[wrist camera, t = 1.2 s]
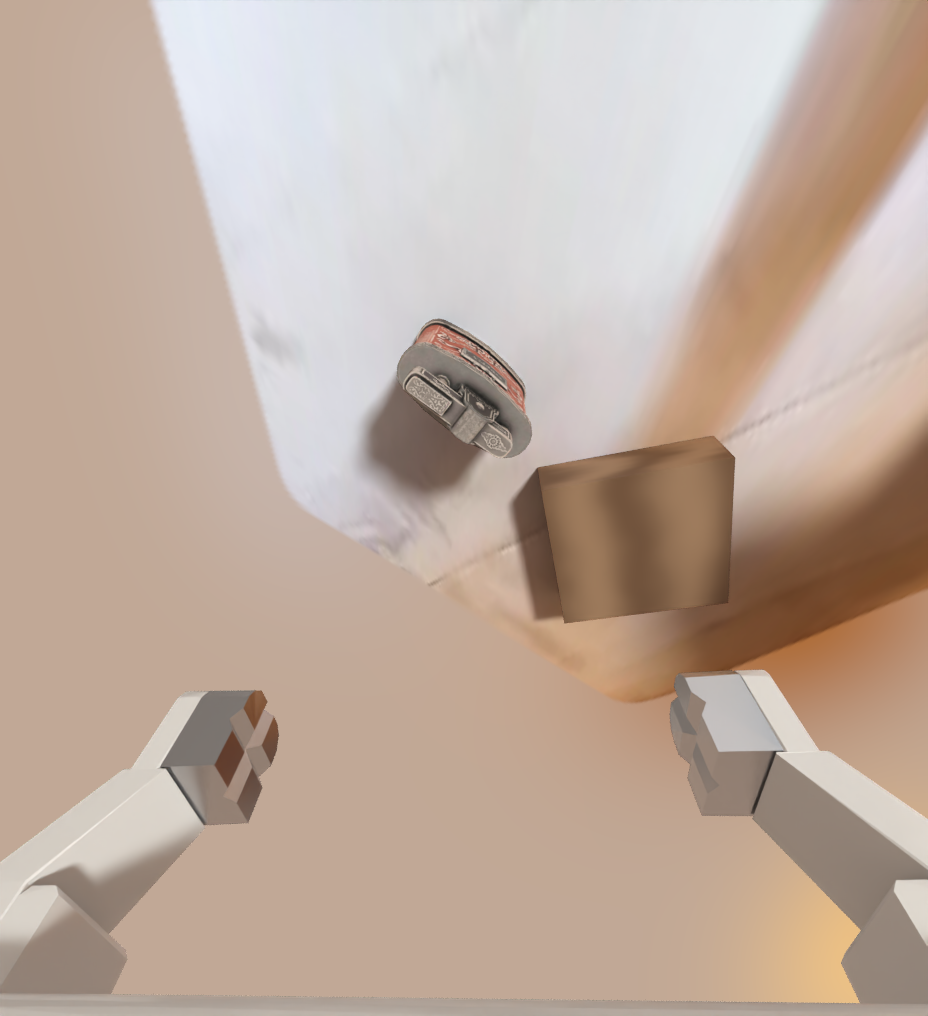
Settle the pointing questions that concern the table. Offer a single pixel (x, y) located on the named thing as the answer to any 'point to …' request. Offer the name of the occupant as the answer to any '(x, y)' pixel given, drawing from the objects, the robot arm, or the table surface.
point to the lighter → (466, 388)
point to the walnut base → (641, 529)
